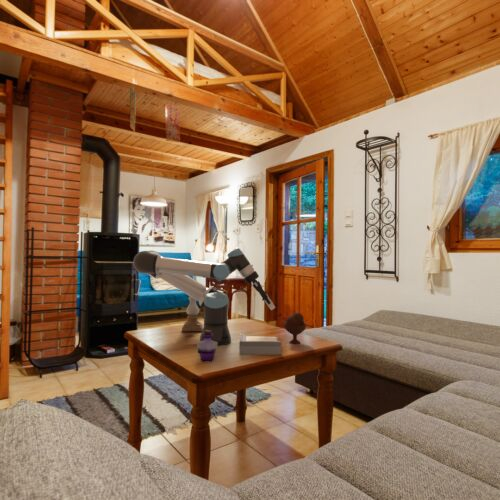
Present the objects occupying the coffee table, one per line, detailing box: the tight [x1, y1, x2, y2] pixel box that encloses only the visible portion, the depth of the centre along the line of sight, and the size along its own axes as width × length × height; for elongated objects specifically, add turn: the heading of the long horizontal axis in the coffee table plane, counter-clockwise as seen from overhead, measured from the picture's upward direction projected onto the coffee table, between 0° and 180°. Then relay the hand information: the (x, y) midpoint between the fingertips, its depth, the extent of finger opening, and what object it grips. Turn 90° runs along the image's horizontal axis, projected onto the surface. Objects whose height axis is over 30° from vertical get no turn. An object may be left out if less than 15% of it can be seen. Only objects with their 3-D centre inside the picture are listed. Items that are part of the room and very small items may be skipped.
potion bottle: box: [196, 330, 218, 362], centre depth 142 cm, size 9×9×12 cm
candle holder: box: [181, 295, 203, 332], centre depth 196 cm, size 11×11×24 cm
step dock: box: [238, 331, 282, 356], centre depth 159 cm, size 18×18×6 cm
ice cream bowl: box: [283, 312, 307, 345], centre depth 170 cm, size 11×11×15 cm
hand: (272, 306), depth 185 cm, fingers open, 13 cm apart
